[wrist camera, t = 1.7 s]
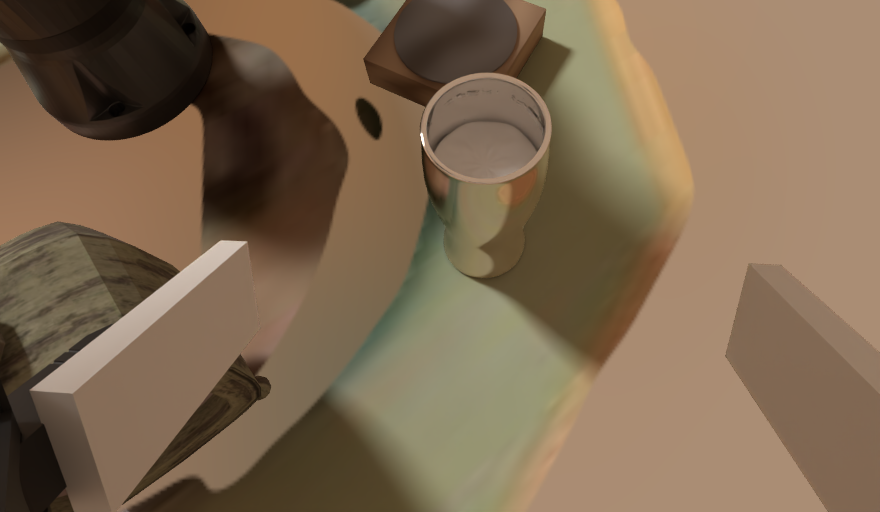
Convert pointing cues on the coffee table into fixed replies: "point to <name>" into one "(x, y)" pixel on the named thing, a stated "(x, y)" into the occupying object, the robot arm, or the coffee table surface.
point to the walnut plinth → (452, 44)
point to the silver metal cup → (485, 167)
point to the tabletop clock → (96, 322)
